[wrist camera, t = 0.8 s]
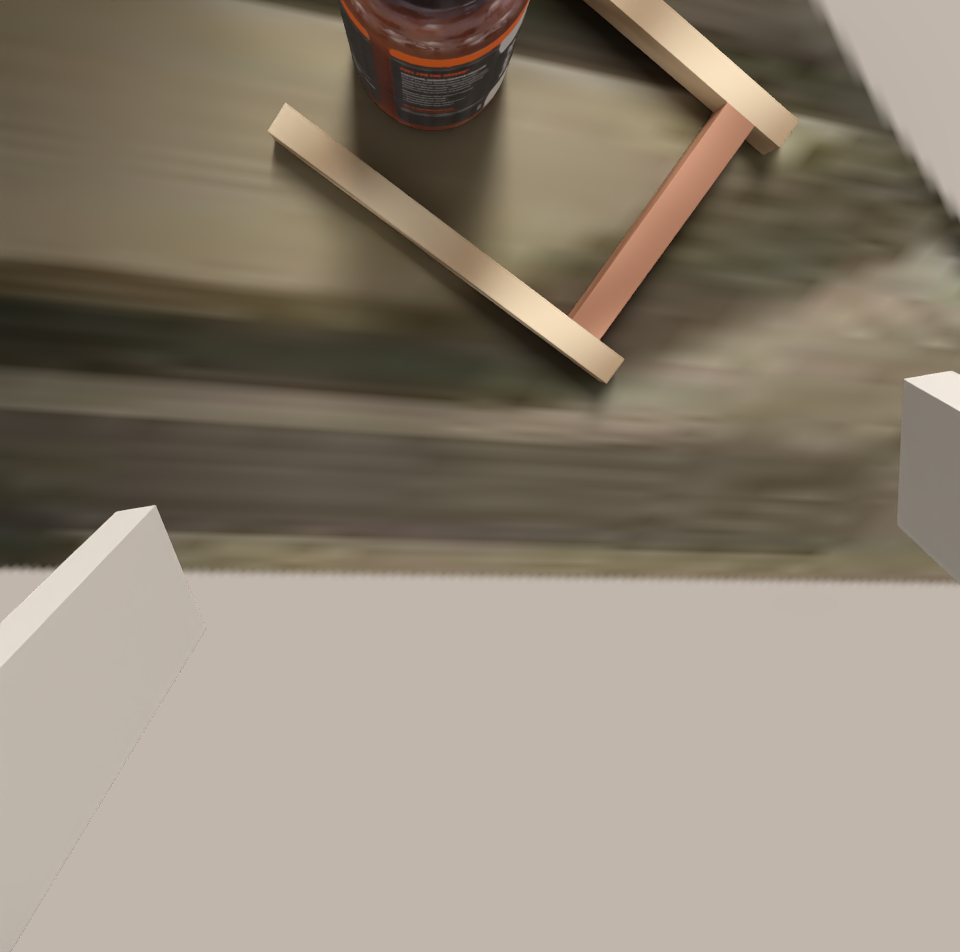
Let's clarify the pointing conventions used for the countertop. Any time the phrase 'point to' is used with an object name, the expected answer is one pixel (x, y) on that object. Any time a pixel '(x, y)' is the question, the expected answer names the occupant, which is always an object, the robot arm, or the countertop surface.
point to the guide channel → (736, 117)
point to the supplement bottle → (432, 55)
